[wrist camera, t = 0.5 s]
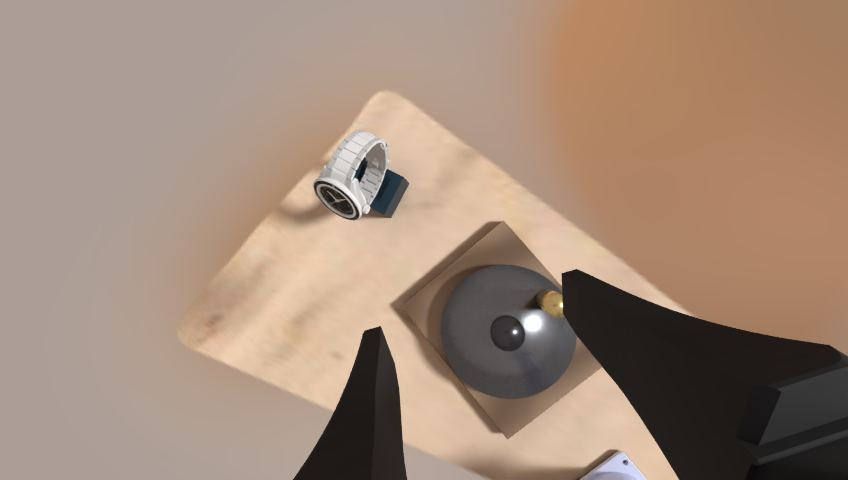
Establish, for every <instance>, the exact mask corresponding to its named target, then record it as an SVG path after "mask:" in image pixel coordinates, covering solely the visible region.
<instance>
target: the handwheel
mask: <svg viewBox="0 0 848 480" xmlns="http://www.w3.org/2000/svg"><path fill="white" fill-rule="evenodd" d="M576 340H577V335H576V334H575V332H574V331H573V329H572V328H571V326H570V324H569V323H568V321H567V320H566V318H565V316H564V315H563V301H562V292H561V291H560V289H559V288H558V287H557V286H556V285H555V284H554V283H553V282H551V281H550V280H549V279H547V278H546V277H545V276H543V275H541V274H539V273H538V272H535V271H533V270H531V269H528V268H525V267H521V266H516V265H493V266H489V267H485V268H483V269H480V270H477V271H476V272H474V273H472V274H470V275H469V276H467V277H466V278H465V279H463V280H462V281H461V282H460V283H459V284H458V285H457V286H456V288H455V289H454V290H453V291H452V293H451V295H450V296H449V298H448V300H447V302H446V304H445V307H444V310H443V313H442V318H441V341H442V345H443V349H444V352H445V355H446V357H447V359H448V361H449V363H450V365H451V366H452V368H453V369H454V370H455V372H456V373H457V374H458V375H459V376H460V378H461V379H462V380H464V381H465V382H466V383H467V384H468V385H470V386H471V387H473V388H474V389H476V390H478V391H480V392H482V393H484V394H487V395H489V396H492V397H497V398H502V399H521V398H526V397H530V396H533V395H536V394H538V393H540V392H542V391H544V390H546V389H547V388H549V387H550V386H552V385H553V384H554V383H555V382H556V381H558V380H559V379H560V377H561V376H562V375H563V374H564V373H565V371H566V369H567V368H568V366H569V364H570V362H571V360H572V358H573V355H574V351H575V347H576Z"/></svg>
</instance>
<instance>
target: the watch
mask: <svg viewBox="0 0 848 480" xmlns="http://www.w3.org/2000/svg"><path fill="white" fill-rule="evenodd" d="M337 148H338V149H336V150H335V152H334V154H333V155H332V158H331V159H330V161H329V163H326V164H325V165H324V167H323V169H322V171H321V173H320V175H319V177H318V179H316V181H315V182H314V184H313V188H314V191H315V193H316V195H317V196H318V198H319V199H320V200H321V201H322V202H323V204H324V205H325V206H327V207H328V208H329V209H330V210H331V211H333V212H334V213H336V214H337V215H339V216H341V217H343V218H345V219H348V220H358V219H359V218H360V217H361V215H362V213H365V214H368V212H369V211H370V208H372V209H374V210H375V211H377V212H380V213H381V214H383V215H386V216H388V217H390V218H391V217H392V215H393V213H394V211H395V209H396V208H397V206H398V204H399V202H400V200H401V198H402V196H403V194H404V192H405V191H406V189H407V187H408V185H409V183H408V181H407V180H406V179H405V178H404V177H402V176H400V175H398V174H396V173H394V172H392V171H390V170H388V165H389V148H388V143H387V142H385V141H384V140H382V139H381V138H379V137H377V136H375V135H372V134H370V133H368V132H366V131H364V130H358V131H355V132H353V133H351V134H350V135H348V136H347V137H346V138H345V139H344V140H343V141H342V142H341V144H340V145H339V146H338V147H337ZM365 155H366V158H365ZM347 162H348V163H347ZM349 163H350V164H349ZM351 164H352V165H351Z"/></svg>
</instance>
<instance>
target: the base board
mask: <svg viewBox="0 0 848 480" xmlns="http://www.w3.org/2000/svg"><path fill="white" fill-rule="evenodd" d="M493 265H516V266H521V267H525V268H528V269H531V270H533V271H535V272H538V273H539V274H541V275H543V276H545V277H546V278H547V279H549V280H550V281H551V282H553V283H554V284H555V285H556V286H557V287H558V288H559V289H560V291H561V292H562V286H561V285H560V284H559V283H558V282H557V281H556V279H555V278H554V277H553V276H552V275H551V274H550V273H549V271H548V270H547V269H546V268H545V267H544V266H543V265H542V264H541V262H540V261H539V260H538V259H537V258H536V257H535V256H534V254H533V253H532V252H531V251H530V250H529V249H528V248H527V246H526V245H525V244H524V243H523V242H522V241H521V240H520V239H519V237H518V236H517V235H516V234H515V233H514V232H513V231H512V229H511V228H510V227H509V226H508V225H507V224H506V223H505V221H504V220H503V221H502V222H501V223H500V224H499V225H497V226H496V227H495V228H494V229H493V230H491V231H490V232H489V233H488V234H487V235H485V236H484V237H483V238H482V239H481V240H479V241H478V242H477V243H476V244H475V245H473V246H472V247H471V248H470V249H469V250H468V251H466V252H465V253H464V254H463V255H462V256H460V257H459V258H458V259H457V260H456V261H454V262H453V263H452V264H451V265H450V266H448V267H447V268H446V269H445V270H444V271H443V272H441V273H440V274H439V275H438V276H437V277H435V278H434V279H433V280H432V281H431V282H429V283H428V284H427V285H426V286H425V287H423V288H422V289H421V290H420V291H419V292H417V293H416V294H415V295H414V296H413V297H412V298H410V299H409V300H408V301H407V302H406V303H404V304H403V305H402V306H401V307H402V308H403V310H404V311H405V312H406V313H407V315H408V316H409V317H410V318H411V320H412V321H413V322H414V323H415V325H416V326H417V327H418V328H419V330H420V331H421V332H422V333H423V335H424V336H425V337H426V338H427V340H428V341H429V342H430V343H431V345H432V346H433V347H434V348H435V350H436V351H437V352H438V353H439V355H440V356H441V357H442V358H443V360H444V361H445V362H446V363H447V365H448V366H449V367H450V368H451V370H452V371H453V372H454V373H455V374H456V376H457V377H458V378H459V379H460V381H461V382H462V383H463V384H464V386H465V387H466V388H467V389H468V391H469V392H470V393H471V394H472V396H473V397H474V398H475V399H476V401H477V402H478V403H479V404H480V406H481V407H482V408H483V409H484V411H485V412H486V413H487V414H488V416H489V417H490V418H491V419H492V421H493V422H494V423H495V424H496V426H497V427H498V428H499V429H500V431H501V432H502V433H503V434H504V436H505V437H506V438H507V439H509V438H510V437H512V436H513V435H514V434H515V433H517V432H518V431H519V430H521V429H522V428H523V427H525V426H526V425H527V424H528V423H530V422H531V421H532V420H534V419H535V418H536V417H538V416H539V415H540V414H541V413H543V412H544V411H545V410H547V409H548V408H549V407H551V406H552V405H553V404H554V403H556V402H557V401H558V400H560V399H561V398H562V397H564V396H565V395H566V394H567V393H569V392H570V391H571V390H573V389H574V388H575V387H577V386H578V385H579V384H580V383H582V382H583V381H584V380H586V379H587V378H588V377H590V376H591V375H592V374H593V373H595V372H596V371H597V370H599V369H600V368H601V367H602V366H601V365H600V363H599V362H598V361H597V360H596V359H595V357H594V356H593V355H592V354H591V353H590V351H589V350H588V349H587V348H586V346H585V345H584V344H583V343H582V342H581V340H580V339H579V338H578V337H577V340H576V347H575V351H574V355H573V358H572V360H571V362H570V364H569V366H568V368H567V369H566V371H565V373H564V374H563V375H562V376H561V377H560V379H559V380H558V381H556V382H555V383H554V384H553V385H552V386H550V387H549V388H547V389H546V390H544V391H542V392H540V393H538V394H536V395H533V396H530V397H526V398H521V399H502V398H497V397H492V396H489V395H487V394H484V393H482V392H480V391H478V390H476V389H474V388H473V387H471V386H470V385H468V384H467V383H466V382H465V381H464V380H462V379H461V378H460V376H459V375H458V374H457V373H456V372H455V370H454V369H453V368H452V366H451V365H450V363H449V361H448V359H447V357H446V355H445V352H444V349H443V345H442V341H441V318H442V313H443V310H444V307H445V304H446V302H447V300H448V298H449V296H450V295H451V293H452V291H453V290H454V289H455V288H456V286H457V285H458V284H459V283H460V282H461V281H462V280H463V279H465V278H466V277H467V276H469V275H470V274H472V273H474V272H476V271H477V270H480V269H483V268H485V267H489V266H493Z"/></svg>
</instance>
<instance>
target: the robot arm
mask: <svg viewBox="0 0 848 480" xmlns="http://www.w3.org/2000/svg"><path fill="white" fill-rule="evenodd" d="M562 301H563V315H564V316H565V318H566V320H567V321H568V323H569V324H570V326H571V328H572V329H573V331H574V332H575V334H576V335H577V337H578V338H579V339H580V340H581V342H582V343H583V344H584V345H585V346H586V348H587V349H588V350H589V351H590V353H591V354H592V355H593V356H594V357H595V359H596V360H597V361H598V362H599V363H600V365H601V366H602V367H603V368H604V369H605V371H606V372H607V373H608V374H609V375H610V377H611V378H612V379H613V380H614V381H615V383H616V384H617V385H618V386H619V388H620V389H621V390H622V392H623V393H624V394H625V396H626V397H627V399H628V400H629V402H630V403H631V405H632V406H633V408H634V409H635V410H636V412H637V413H638V415H639V416H640V418H641V419H642V421H643V422H644V424H645V426H646V427H647V429H648V430H649V432H650V433H651V435H652V436H653V438H654V439H655V441H656V442H657V444H658V446H659V447H660V449H661V451H662V452H663V454H664V455H665V457H666V459H667V460H668V462H669V464H670V465H671V467H672V468H673V470H674V472H675V473H676V475H677V477H678V478H679V480H848V356H846V355H845V354H843V353H841V352H840V351H838V350H836V349H835V348H833V347H831V346H830V345H824V344H818V343H811V342H804V341H798V340H791V339H784V338H779V337H774V336H769V335H763V334H759V333H753V332H749V331H745V330H740V329H736V328H732V327H728V326H723V325H720V324H716V323H712V322H708V321H705V320H701V319H698V318H695V317H692V316H689V315H685V314H682V313H679V312H676V311H673V310H670V309H667V308H665V307H662V306H659V305H657V304H654V303H652V302H649V301H647V300H644V299H642V298H639V297H637V296H634V295H632V294H630V293H628V292H625V291H623V290H621V289H619V288H616V287H614V286H612V285H610V284H608V283H606V282H604V281H601V280H599V279H597V278H595V277H593V276H591V275H589V274H586V273H584V272H582V271H580V270H577V269H576V270H572V271H569V272H565V273H562ZM623 460H627V461H626V463H623ZM293 480H407V476H406V470H405V463H404V453H403V441H402V425H401V409H400V394H399V386H398V380H397V374H396V369H395V363H394V361H393V358H392V355H391V353H390V350H389V347H388V344H387V342H386V339H385V336H384V334H383V331H382V328H381V326H379V327H376V328H373V329H369V330H366V331H364V333H363V336H362V340H361V343H360V347H359V350H358V354H357V357H356V360H355V363H354V365H353V368H352V371H351V374H350V376H349V379H348V382H347V384H346V386H345V389H344V391H343V393H342V396H341V398H340V400H339V403H338V405H337V407H336V409H335V411H334V413H333V415H332V417H331V419H330V421H329V423H328V425H327V427H326V428H325V430H324V432H323V434H322V435H321V437H320V439H319V441H318V442H317V444H316V446H315V447H314V449H313V451H312V452H311V454H310V455H309V457H308V459H307V460H306V462H305V463H304V465H303V466H302V467H301V469H300V470H299V472H298V473H297V475H296V476H295V478H294V479H293ZM580 480H647V479H646V478H645V477H644V476H643V475H642V473H641V472H640V471H639V470H638V469H637V468H636V466H635V465H634V464H633V463H632V462H631V460H630V459H629V458H628V457H627V456H626V455H625V453H623V452H622V451H618V452H616V453H615V454H613V455H612V456H611V457H609V458H608V459H607V460H605V461H604V462H603V463H601V464H600V465H599V466H597V467H596V468H595V469H593V470H592V471H591V472H589V473H588V474H586V475H585V476H584V477H582V478H581V479H580Z"/></svg>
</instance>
